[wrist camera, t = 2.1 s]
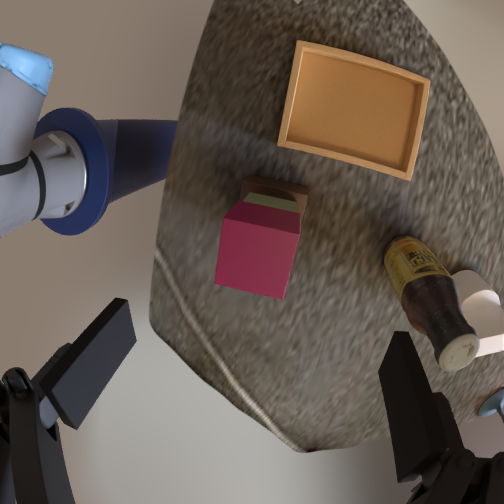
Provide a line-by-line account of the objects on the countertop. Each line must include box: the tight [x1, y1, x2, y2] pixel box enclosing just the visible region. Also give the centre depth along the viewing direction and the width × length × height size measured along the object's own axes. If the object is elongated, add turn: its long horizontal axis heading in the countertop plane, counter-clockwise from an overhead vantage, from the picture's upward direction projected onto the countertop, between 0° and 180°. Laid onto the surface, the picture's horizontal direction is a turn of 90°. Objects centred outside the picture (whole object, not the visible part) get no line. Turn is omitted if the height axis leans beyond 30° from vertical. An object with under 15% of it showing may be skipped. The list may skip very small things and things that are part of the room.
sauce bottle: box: [384, 236, 480, 372], centre depth 26 cm, size 6×6×20 cm
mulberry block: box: [215, 200, 300, 299], centre depth 24 cm, size 6×6×6 cm
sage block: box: [243, 192, 297, 213], centre depth 29 cm, size 5×5×5 cm
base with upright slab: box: [452, 270, 504, 357], centre depth 31 cm, size 9×9×12 cm
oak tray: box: [277, 40, 430, 181], centre depth 28 cm, size 16×13×3 cm
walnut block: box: [239, 175, 309, 229], centre depth 33 cm, size 7×7×5 cm
